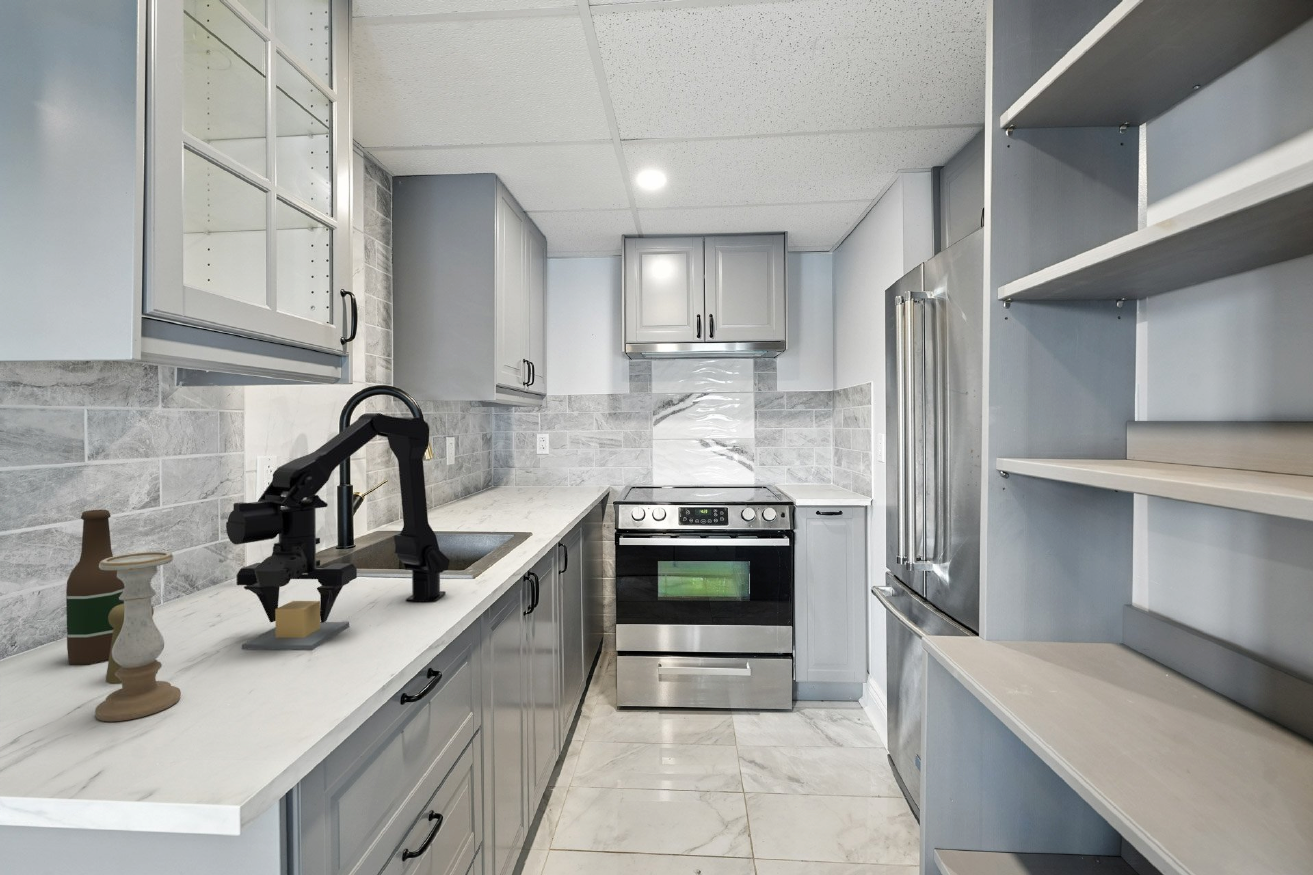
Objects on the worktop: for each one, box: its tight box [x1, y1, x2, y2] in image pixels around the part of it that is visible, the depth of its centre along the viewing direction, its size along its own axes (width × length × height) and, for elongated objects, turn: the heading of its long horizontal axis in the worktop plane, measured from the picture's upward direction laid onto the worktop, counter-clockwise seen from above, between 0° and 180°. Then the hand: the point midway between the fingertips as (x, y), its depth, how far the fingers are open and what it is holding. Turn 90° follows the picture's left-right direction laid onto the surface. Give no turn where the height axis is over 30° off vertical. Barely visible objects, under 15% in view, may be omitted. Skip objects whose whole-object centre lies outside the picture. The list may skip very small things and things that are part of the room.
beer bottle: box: [65, 509, 125, 666], centre depth 99 cm, size 8×8×24 cm
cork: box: [105, 604, 155, 685], centre depth 92 cm, size 6×6×11 cm
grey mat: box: [241, 621, 350, 651], centre depth 109 cm, size 12×12×1 cm
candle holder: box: [94, 551, 182, 722], centre depth 82 cm, size 9×9×20 cm
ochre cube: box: [274, 600, 321, 638], centre depth 109 cm, size 5×5×5 cm
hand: (298, 621), depth 109 cm, fingers open, 9 cm apart
